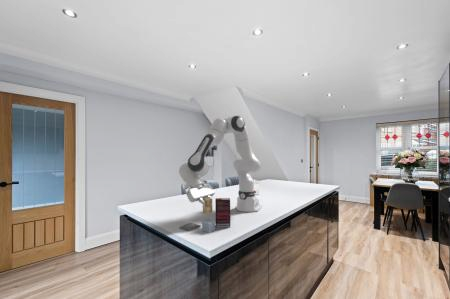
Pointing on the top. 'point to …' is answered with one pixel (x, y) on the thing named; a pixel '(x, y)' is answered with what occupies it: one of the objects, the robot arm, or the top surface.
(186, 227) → the charcoal mat
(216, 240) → the top surface
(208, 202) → the oak block
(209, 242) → the top surface
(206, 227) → the blue-grey cube
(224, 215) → the supplement box
